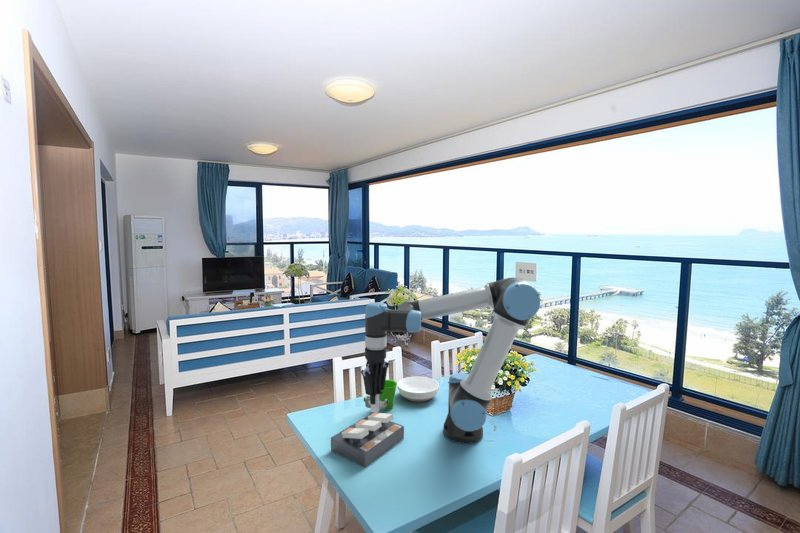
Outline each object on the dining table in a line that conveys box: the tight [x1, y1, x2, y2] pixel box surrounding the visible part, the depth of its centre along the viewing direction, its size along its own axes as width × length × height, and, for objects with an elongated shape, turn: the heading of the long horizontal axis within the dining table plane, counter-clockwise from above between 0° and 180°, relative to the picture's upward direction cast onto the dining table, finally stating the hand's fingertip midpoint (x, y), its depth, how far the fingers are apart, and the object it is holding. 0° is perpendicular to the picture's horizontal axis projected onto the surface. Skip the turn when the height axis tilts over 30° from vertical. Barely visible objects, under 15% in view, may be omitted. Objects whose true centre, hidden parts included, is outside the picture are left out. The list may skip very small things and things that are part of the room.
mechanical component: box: [363, 395, 389, 410], centre depth 158 cm, size 3×10×10 cm, turn 78°
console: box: [330, 413, 405, 468], centre depth 142 cm, size 16×22×6 cm
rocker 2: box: [354, 419, 382, 431], centre depth 141 cm, size 9×4×2 cm, turn 54°
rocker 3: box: [367, 412, 394, 423], centre depth 147 cm, size 9×4×2 cm, turn 54°
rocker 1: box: [342, 428, 369, 439], centre depth 136 cm, size 9×4×2 cm, turn 54°
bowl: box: [396, 375, 440, 403], centre depth 183 cm, size 20×20×6 cm
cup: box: [380, 379, 398, 411], centre depth 171 cm, size 9×9×11 cm
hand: (374, 411), depth 139 cm, fingers closed
